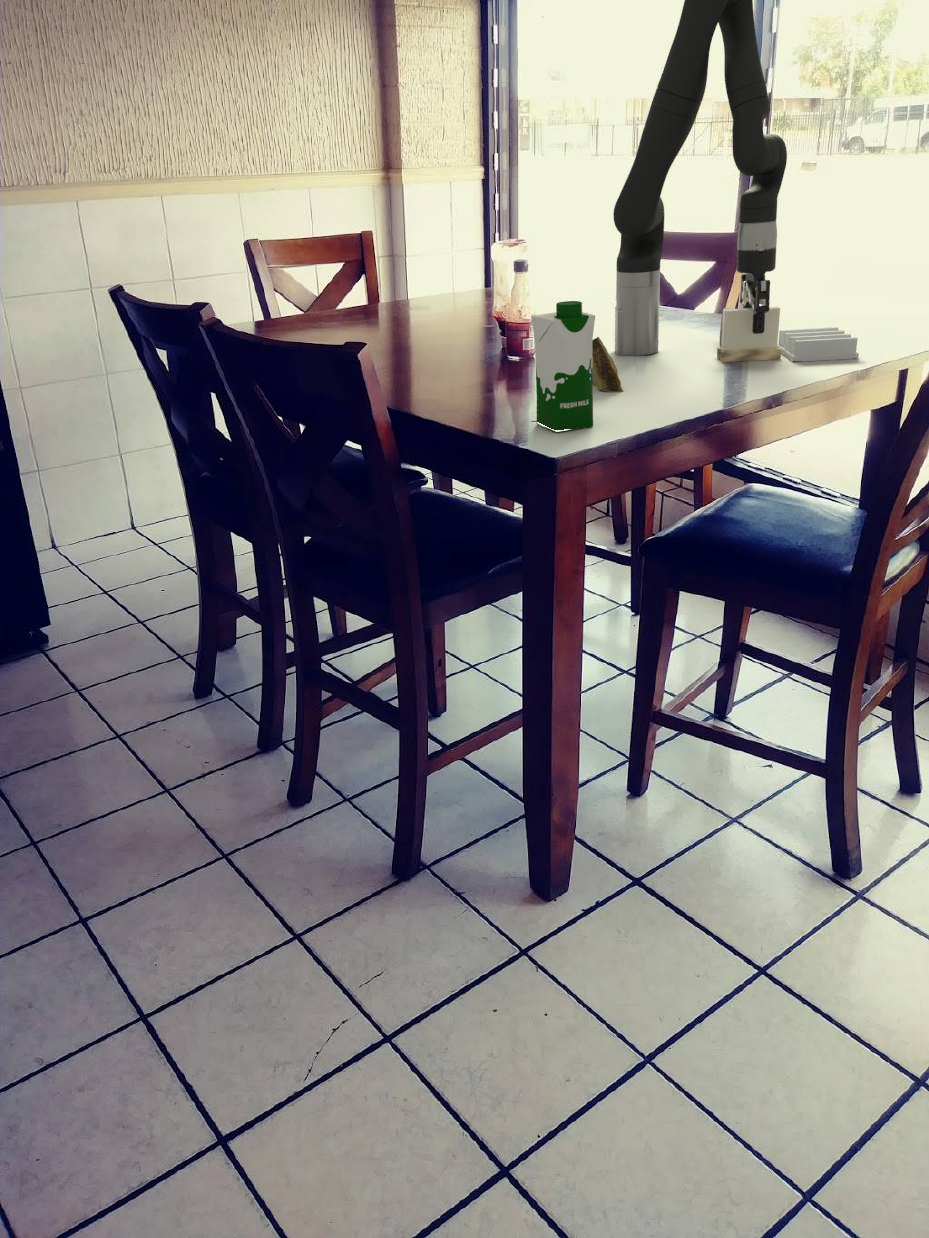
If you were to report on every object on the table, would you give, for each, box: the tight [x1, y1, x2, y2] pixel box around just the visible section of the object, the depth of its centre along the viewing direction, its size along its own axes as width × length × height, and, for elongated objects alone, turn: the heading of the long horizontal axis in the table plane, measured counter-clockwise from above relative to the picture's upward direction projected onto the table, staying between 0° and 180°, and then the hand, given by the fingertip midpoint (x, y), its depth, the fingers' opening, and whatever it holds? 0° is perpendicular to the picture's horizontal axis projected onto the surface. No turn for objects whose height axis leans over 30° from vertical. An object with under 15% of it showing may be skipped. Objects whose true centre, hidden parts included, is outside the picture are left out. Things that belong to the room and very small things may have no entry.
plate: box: [720, 306, 781, 351], centre depth 201 cm, size 11×2×10 cm, turn 88°
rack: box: [777, 326, 860, 362], centre depth 202 cm, size 13×14×4 cm
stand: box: [716, 347, 782, 363], centre depth 203 cm, size 12×5×2 cm, turn 88°
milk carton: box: [530, 300, 596, 430], centre depth 159 cm, size 9×9×20 cm
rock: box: [592, 336, 624, 392], centre depth 187 cm, size 11×9×10 cm
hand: (753, 330), depth 201 cm, fingers open, 8 cm apart
